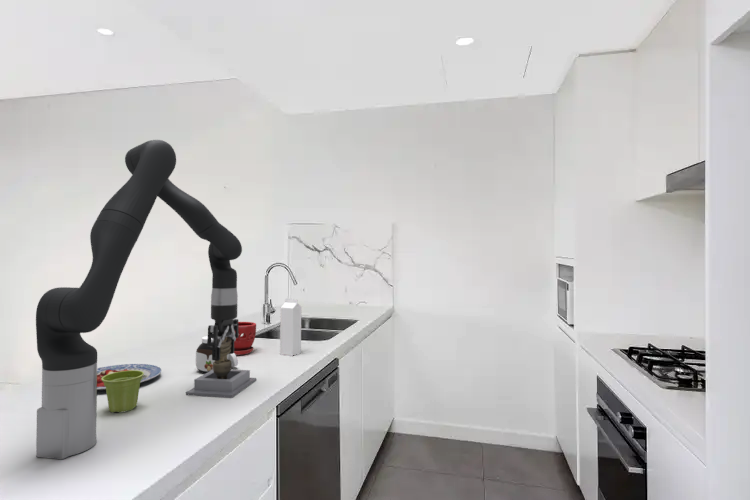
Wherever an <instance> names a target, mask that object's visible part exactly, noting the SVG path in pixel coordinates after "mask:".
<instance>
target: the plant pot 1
mask: <svg viewBox="0 0 750 500" xmlns="http://www.w3.org/2000/svg"><path fill="white" fill-rule="evenodd" d="M143 375H144V372H142V371H138V370H129V371H120V372H115V373H111V374H108V375H105V376H103V377H102V381H103V382H104V386H105V387H106V390H105V391H106V392H105V393H106V397H107V403H108V411H109V412H110V413H115V412H117V413H125V412H128V411H129V412H130V411H131V410H134V408H136V407H138V400H139V392H140V386H141V383H140V381H141V380H142V376H143Z"/></svg>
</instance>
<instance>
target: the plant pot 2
mask: <svg viewBox="0 0 750 500" xmlns="http://www.w3.org/2000/svg"><path fill="white" fill-rule="evenodd" d="M238 326H239V337H238V338H236V340H235V341H234V353H235V355H236V356H242V355H247V354H250V353H252V352H253V351H254V346H253V344H254V342H255V340H256V339H255V338H256V334H257V323H256V322H252V321H238ZM234 331H235V330H234Z"/></svg>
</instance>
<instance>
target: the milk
mask: <svg viewBox="0 0 750 500" xmlns="http://www.w3.org/2000/svg"><path fill="white" fill-rule="evenodd" d="M279 322H280V323H279V324H280V326H279V327H280V332H279V334H280V335H279V337H280V339H279V341H280V343H279V352H280V353H279V354H280V355H281V356H287V355H289V356H290V357H294V356H296V354H297V355H299V354H301V353H302V306H301V305H300V304H299V303H298V299H295V298H293V299H292V298H285V299H284V303H283V304H282V305H281V306H280V321H279ZM298 353H299V354H298ZM293 355H294V356H293Z"/></svg>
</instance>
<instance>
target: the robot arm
mask: <svg viewBox="0 0 750 500" xmlns="http://www.w3.org/2000/svg"><path fill="white" fill-rule="evenodd" d="M176 155H177V154H176V152H175V149H174V148H173V146H172V145H171V144H170V143H168V142H167V141H165V140H162V139H152V140H147V141H144V142H143V143H140V144H138V145H136V146H135V147H133V148H131V149H129V150H128V151H127V152H126V154H125V156H124V163H125V166H126V168H127V170H128V171H129V173H130V175H131V176H130V177H129V179H128V180H127V181H126V182H125V183H124V184H123V185H122V186H121V187H120V188H119V189H118V190H117V191H116V192H115V193H114V194H113V195H112V196H111V197H110V199H109V200H108V201H106V204H105V205H104V206H103V207H102V209H101V211H100V212H99V214H98V216H97V218H96V219H95V221H94V223H93V224H92V227H91V229H90V235H89V236H90V237H89V240H90V248H91V253H92V254H91V255H92V262H91V266H90V268H89V271H88V273H87V274H86V276H85V279H84V280H83V282H81V285H80V286H79V287H67V286H66V287H65V286H64V287H62V286H61V287H54V288H51V289H48V290H47V291H45V292H44V294H43V295H41V297H40V299H39V301H38V303H37V307H36V312H35V330H36V331H35V333H36V349H37V354H38V357H39V358H40V360H41V364H42V365H41V369H42V370H41V377H42V378H41V407H39V408H37V410H36V434H35V435H36V438H35V439H36V440H35V446H36V451H35V454H36V455H35V456H36V457H37V458H46V459H47V458H48V459H56V460H57V459H59V460H64V459H66V458H68V457H70V456H74V455H77V454H81V453H83V452H86V451H88V450H90V449H91V448H93V447H94V446H95V445H96V443H97V412H98V411H97V408H98V407H97V405H98V398H97V397H98V396H97V395H98V393H97V392H98V390H97V368H98V350H97V349H96V348H95V346H93V345H91V344H89V342H88V343H87V342H86V340H84V338H83V337H82V335H81V334H86V333H91V332H94V331H95V330H96V329H97V328H99V327H100V326H101V324H102V323H103V322H104V320H105V318H106V316H107V315H108V313H109V310H110V307H111V304H112V302H113V299H114V296H115V293H116V290H117V287H118V284H119V281H120V278H121V276H122V274H123V272H124V269H125V267H126V264H127V262H128V260H129V257H130V255H131V253H132V250H133V249H134V247H135V245H136V243H137V242H138V240H139V238H140V235H141V233H142V230H143V229H144V226H145V224H146V223H147V222H146V221H147V220H148V217H149V215H150V214H151V211H152V209H153V207H154V205H155V202H156V200H157V198H159V199H160V200H162V201H163V202H164V203H165V204H166V205H167V206H168V207H170V208H171V209H172V210H173V211H174V212H175V213H176V214H177V215H178V216H179V217H180V218H181V219H182V220H183V221H184V222H185V223H186V224H187V226H188V227H189V228H190V229H191V230H192V231H193V232H194V233H195V235H197V237H199V238H200V239H202V240H205V241H207V242H209V246H208V251H207V254H208V260H209V266H210V268H211V274H212V277H211V278H212V279H211V281H212V282H211V284H212V285H211V286H212V287H211V295H210V299H211V300H210V319H212V320H213V321H214V324H213V325H208V327H207V336H208V340H207V346H210V347H212V360H216V361H218V360H220V346H221V343H222V341H224V339H225V336H226V337H229V338H230V339H231V340H232V342H231V348H230V349H231V352H230V353H229V354H233V353H234V341H235V340H236V338H238V337H239V326H238V322H239V319H238V297H239V296H238V274H237V270H236V269H235V268H233V267H232V266H231V261H234V260H237V259H238V258H240V256H241V255H242V252H243V246H242V243H241V241H240V240H239V238H238V237H237V236H236V235H235V234H233V233H232V231H230V230H229V229H228V228H227V227H225V226H224V225H223V224H221V222H219V221H218V219H217V218H216V217H215V216H214V215H213V213H212V212H211V211H210V210H209V209H208V208H207V206H206V205H205V204H204V203H202V202H201V201H200V200H198V199H197V198H195V197H194V196H192V195H190V194H189V193H187V192H185V191H184V190H182V189H181V188H179V187H178V186H177V185H175V184H174V183H173V182H172V181H171V180H170V179H169V178H170V176H171V175H172V173H174V171H175V168H176V165H177V156H176ZM234 330H235V331H234ZM211 338H212V339H213V340H212V342H211ZM218 340H219V341H218ZM217 341H218V343H217Z"/></svg>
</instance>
